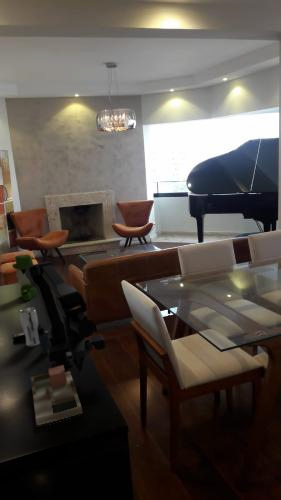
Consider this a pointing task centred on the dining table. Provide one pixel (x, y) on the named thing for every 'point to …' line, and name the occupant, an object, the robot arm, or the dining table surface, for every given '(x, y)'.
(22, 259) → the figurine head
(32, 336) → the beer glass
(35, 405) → the deck
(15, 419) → the dining table surface
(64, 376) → the red block
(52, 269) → the robot arm
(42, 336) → the vaping device
